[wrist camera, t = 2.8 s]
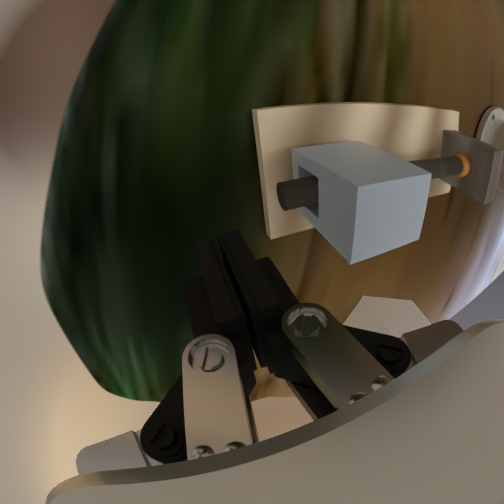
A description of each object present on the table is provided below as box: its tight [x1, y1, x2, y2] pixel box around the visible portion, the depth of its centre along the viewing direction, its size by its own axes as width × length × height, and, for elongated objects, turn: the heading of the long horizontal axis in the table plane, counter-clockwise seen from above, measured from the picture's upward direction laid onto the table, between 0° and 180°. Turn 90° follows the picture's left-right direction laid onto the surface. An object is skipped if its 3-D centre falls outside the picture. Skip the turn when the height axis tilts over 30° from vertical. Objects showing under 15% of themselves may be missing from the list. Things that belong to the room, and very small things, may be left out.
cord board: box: [252, 102, 504, 239], centre depth 17 cm, size 21×9×7 cm, turn 97°
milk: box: [343, 296, 431, 338], centre depth 24 cm, size 12×12×26 cm
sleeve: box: [291, 141, 432, 265], centre depth 14 cm, size 5×4×6 cm
